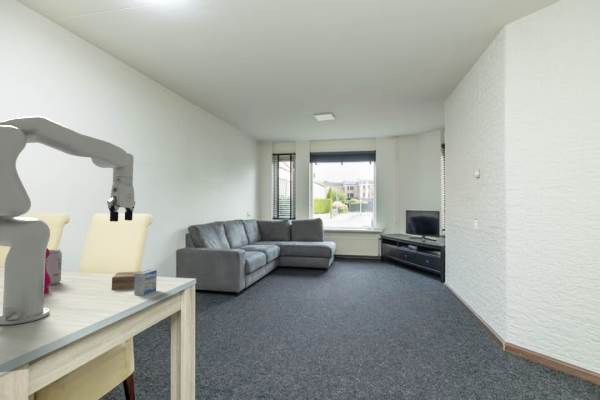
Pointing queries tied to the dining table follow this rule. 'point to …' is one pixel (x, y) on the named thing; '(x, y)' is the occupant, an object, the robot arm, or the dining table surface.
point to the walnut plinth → (124, 280)
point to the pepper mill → (46, 274)
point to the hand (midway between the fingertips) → (121, 220)
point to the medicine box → (145, 282)
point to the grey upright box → (54, 266)
